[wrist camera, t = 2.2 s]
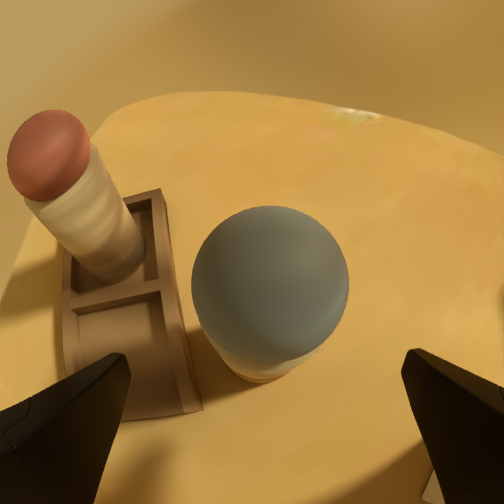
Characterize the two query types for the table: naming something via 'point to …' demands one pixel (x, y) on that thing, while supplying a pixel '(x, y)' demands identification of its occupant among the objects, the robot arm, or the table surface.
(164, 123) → the table surface
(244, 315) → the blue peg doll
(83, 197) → the red peg doll
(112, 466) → the table surface
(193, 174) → the table surface
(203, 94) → the table surface
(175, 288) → the doll tray
